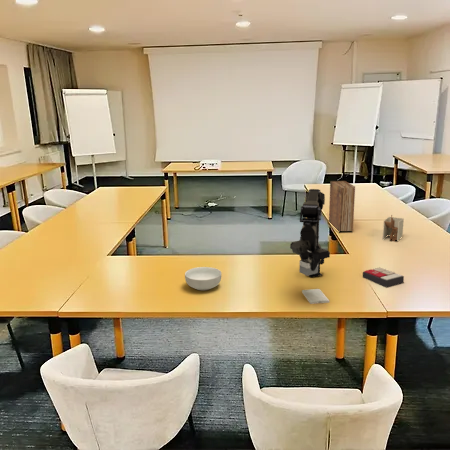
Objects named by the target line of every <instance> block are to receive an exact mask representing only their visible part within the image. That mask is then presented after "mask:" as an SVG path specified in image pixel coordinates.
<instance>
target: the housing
mask: <svg viewBox="0 0 450 450" xmlns="http://www.w3.org/2000/svg"><path fill="white" fill-rule="evenodd" d="M298 271H299V273H300V274H302V275H304V276H306V277H307V276H308V277H310V276H309V275H312V274H316V273H318V265H317V267H316V269H315V270H314V271H312V263H311V259H310V258H307V259H303V260H301V259H300V260H299V270H298Z"/></svg>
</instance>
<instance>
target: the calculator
mask: <svg viewBox="0 0 450 450" xmlns="http://www.w3.org/2000/svg"><path fill="white" fill-rule="evenodd" d="M362 278H363V279H366V280H368V281H370V282H373V283H375V284H378V285H379V286H382V287H383V288H385V289H387V288H392V287H394V286H398V285H399V286H400V285H402V284H404V281H405V280H404V278H405V276H404V275H402V274H399V273H396V272H395V271H392V270H389V269H387V268H383V267H380V266H379V267H375V268H370V269H366V270H363V272H362Z"/></svg>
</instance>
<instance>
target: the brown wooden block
mask: <svg viewBox="0 0 450 450" xmlns="http://www.w3.org/2000/svg"><path fill="white" fill-rule="evenodd" d="M329 182H330V183H329V206H328V208H329V210H328V211H329V212H328V213H329V214H328V223H329V222H330V223H331V224H332V225H333V226H334V227H335V228H336V229H337V230H338V231H339V232H340V231H353V232H354V219H355V201H356V200H355V198H356V197H355V196H356V186H355V185H353V184H352V183H350V182H347V181H346V180H341V179H340V180H330V181H329ZM340 233H341V232H340Z"/></svg>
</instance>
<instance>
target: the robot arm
mask: <svg viewBox="0 0 450 450" xmlns="http://www.w3.org/2000/svg"><path fill="white" fill-rule="evenodd" d="M325 196H326V195H325V194H324V193H323V192H321V189H317V188H311V189H308V192H307V193H306V194H305V202H304V201H303V204H302V205H301V206H300V215H299V222H300V223H302V227H301V229H300V231H299V233H300V237H299V240H296V241H293V242H292V241H291V243H290V245H289V246H290V247H289V248H290V250H291V252H292V253H293V254H297V255H299V258H300V260H303V259H307V258H310V259H311V263H312V271H314V270H315V269H316V267H317V265H318V273H316V274H312V275H309V276H308V277H309V278H317V277H322V276H323V274H322V273H321V265H323V264H325V259H328V258H331V257H330V256H331V253H330V251H329V250H327V249H325V248H322V246H321V244H320V242H319V239H320V235H319V234H320V221H321V220H322V210H323V209H324V205H325V203H326V202H325V201H326V197H325Z"/></svg>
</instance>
